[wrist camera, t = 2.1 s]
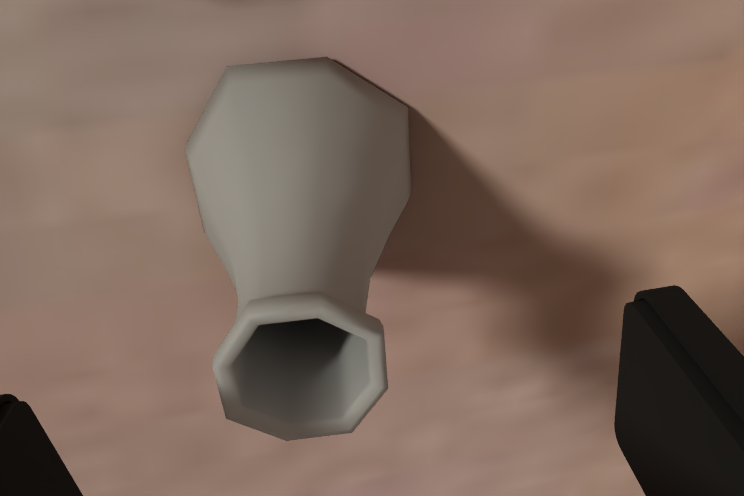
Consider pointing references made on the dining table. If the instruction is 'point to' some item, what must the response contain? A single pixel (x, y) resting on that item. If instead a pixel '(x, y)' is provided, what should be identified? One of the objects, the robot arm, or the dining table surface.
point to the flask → (300, 238)
